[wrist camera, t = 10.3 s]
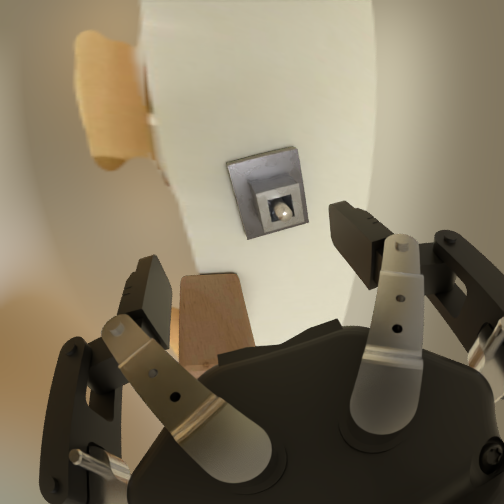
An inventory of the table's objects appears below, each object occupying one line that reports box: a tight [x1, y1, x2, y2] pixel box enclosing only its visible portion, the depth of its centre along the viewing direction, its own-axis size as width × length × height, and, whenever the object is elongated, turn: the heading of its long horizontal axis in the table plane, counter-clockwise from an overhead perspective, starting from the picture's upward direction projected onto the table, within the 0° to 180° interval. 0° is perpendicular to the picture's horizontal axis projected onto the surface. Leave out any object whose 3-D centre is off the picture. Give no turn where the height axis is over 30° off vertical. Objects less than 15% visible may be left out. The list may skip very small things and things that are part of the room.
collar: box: [249, 173, 304, 233], centre depth 37 cm, size 6×6×5 cm
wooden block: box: [179, 273, 255, 379], centre depth 41 cm, size 10×10×20 cm
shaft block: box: [226, 146, 309, 240], centre depth 37 cm, size 12×10×9 cm
